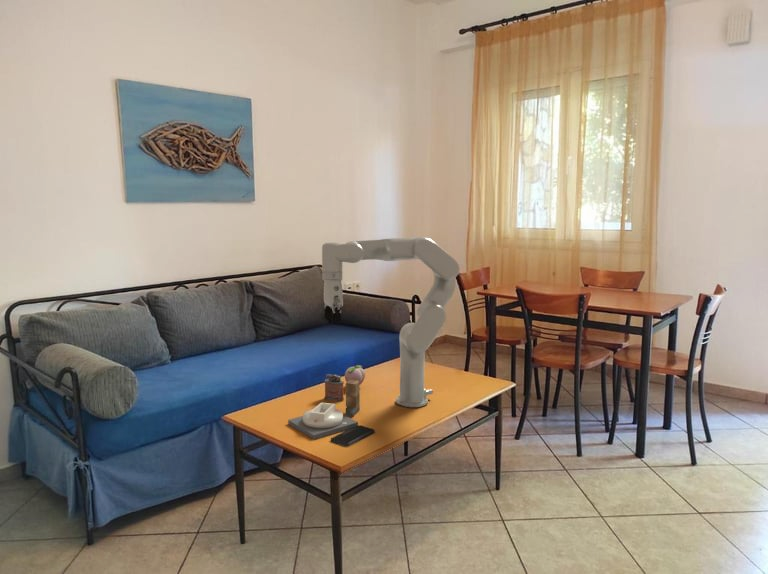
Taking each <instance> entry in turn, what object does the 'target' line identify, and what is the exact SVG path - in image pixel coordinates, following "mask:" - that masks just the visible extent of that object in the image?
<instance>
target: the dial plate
mask: <svg viewBox="0 0 768 574" xmlns="http://www.w3.org/2000/svg"><path fill="white" fill-rule="evenodd" d="M287 421H288V422H287V423H288V425H289V426H290V427H293V428H294V429H296V430H297V431H299V432H301V433H303V434H304V435H306V436H307V437H309V438H310V439H312V440H317V439H320V438H323V437H326V436H330V435H334V434H336V433H340V432H341V433H342V432H345V431H347V430H349V429H351V428H353V427H355V426H357V425H359V422H358V421H356V420H354V419H353V418H352V417H350V416H346V414H343V421H342V423H341V424H339V425H337V426H334V427H330V428H312V427H308V426H306V425H305V424H304V423H303V415H302V416H298V417H295V418H290V419H288V420H287Z"/></svg>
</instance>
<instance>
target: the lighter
mask: <svg viewBox="0 0 768 574" xmlns="http://www.w3.org/2000/svg"><path fill="white" fill-rule="evenodd" d="M344 384H345V382H344V381H343V380H341V376H340V375H337V374H330V373H329V374H326V375H325V380H324V393H325V394H324V399H325V400H328V401H332V402H333V401H334V402H344V400H345V397H344Z"/></svg>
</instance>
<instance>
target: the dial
mask: <svg viewBox="0 0 768 574" xmlns="http://www.w3.org/2000/svg"><path fill="white" fill-rule="evenodd" d="M343 415H344V414H343V411H341V410H339V409H336V403H327V402H320V403H319V404H317V406H315V407H314V408H313V409H312V408H311V409H310V410H309V409H308V410H306V411H305V412H304V413H303V414H302V416H303V423H304V424H305V425H306V426H308V427H312V428H330V427H334V426H337V425H339V424H341V423H342V421H343Z"/></svg>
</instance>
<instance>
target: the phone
mask: <svg viewBox="0 0 768 574" xmlns="http://www.w3.org/2000/svg"><path fill="white" fill-rule="evenodd" d="M375 431H376V430H375V429H374V428H370V427H367V426H364V425H360V424H358V425H357V426H355V427H353V428H351V429H347V430H344V431H342V432H341V433H340V432H339V434H336V435H334V436H332V437H330V442H331V443H334V444H337V445H340V446H343V447H347V448H348V447H350V446H352V445H354V444H356V443H358V442H360V441H362V440H364V439H366V438H368V437H370V436H372V435H373V434H375V433H376V432H375Z"/></svg>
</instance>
